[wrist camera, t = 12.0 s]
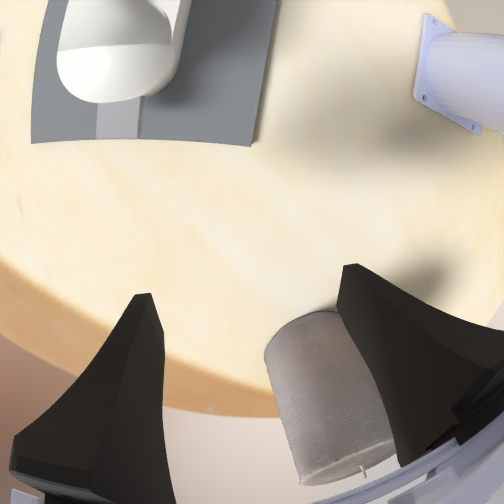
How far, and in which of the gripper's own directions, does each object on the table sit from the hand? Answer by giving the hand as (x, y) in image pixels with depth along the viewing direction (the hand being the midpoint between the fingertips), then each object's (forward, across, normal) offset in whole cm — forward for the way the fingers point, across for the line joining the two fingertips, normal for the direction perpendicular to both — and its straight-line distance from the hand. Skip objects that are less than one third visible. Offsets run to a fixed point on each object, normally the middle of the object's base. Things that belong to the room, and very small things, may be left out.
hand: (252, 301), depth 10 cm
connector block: (+9, +4, -12) cm, 15 cm away
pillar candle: (+10, -7, +16) cm, 20 cm away
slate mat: (+9, +4, -12) cm, 16 cm away
